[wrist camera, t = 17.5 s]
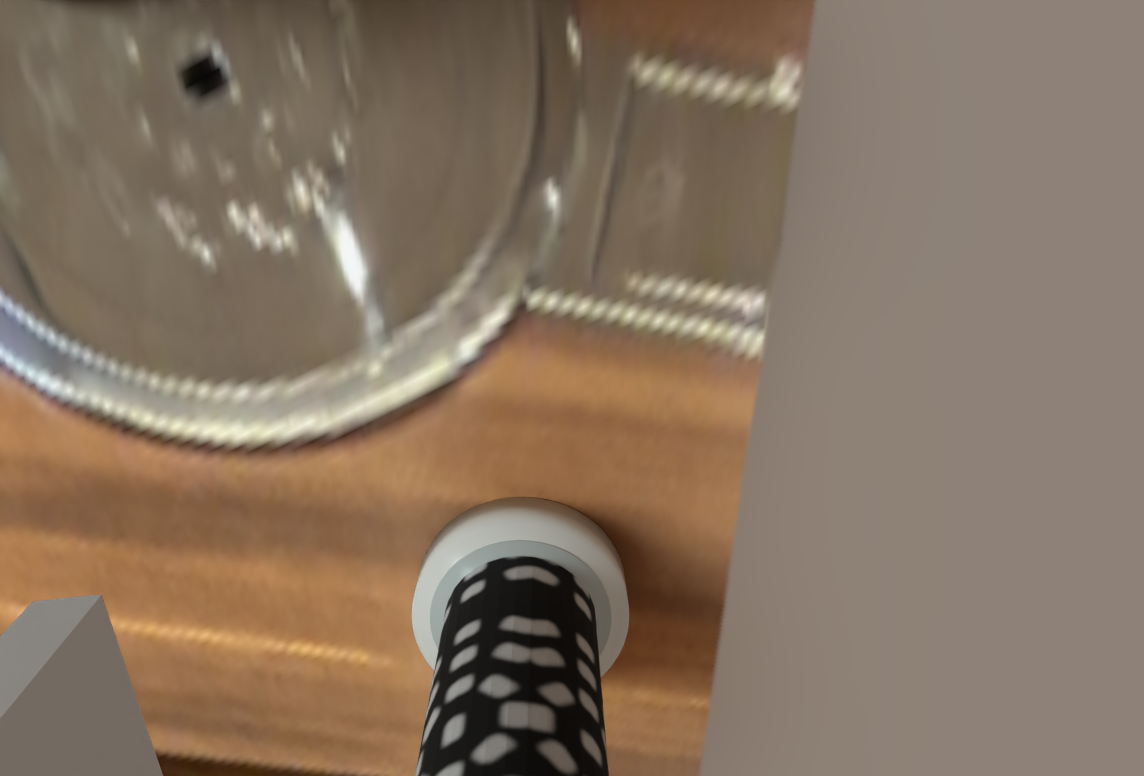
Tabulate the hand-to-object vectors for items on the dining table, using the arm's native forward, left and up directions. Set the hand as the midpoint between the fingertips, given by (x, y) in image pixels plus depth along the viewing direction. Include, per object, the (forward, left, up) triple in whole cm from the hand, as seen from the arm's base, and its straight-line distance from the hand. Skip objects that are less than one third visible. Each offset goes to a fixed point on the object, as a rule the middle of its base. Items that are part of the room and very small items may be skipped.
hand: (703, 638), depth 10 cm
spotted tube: (-6, -23, -34) cm, 41 cm away
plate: (-6, -23, -37) cm, 44 cm away
